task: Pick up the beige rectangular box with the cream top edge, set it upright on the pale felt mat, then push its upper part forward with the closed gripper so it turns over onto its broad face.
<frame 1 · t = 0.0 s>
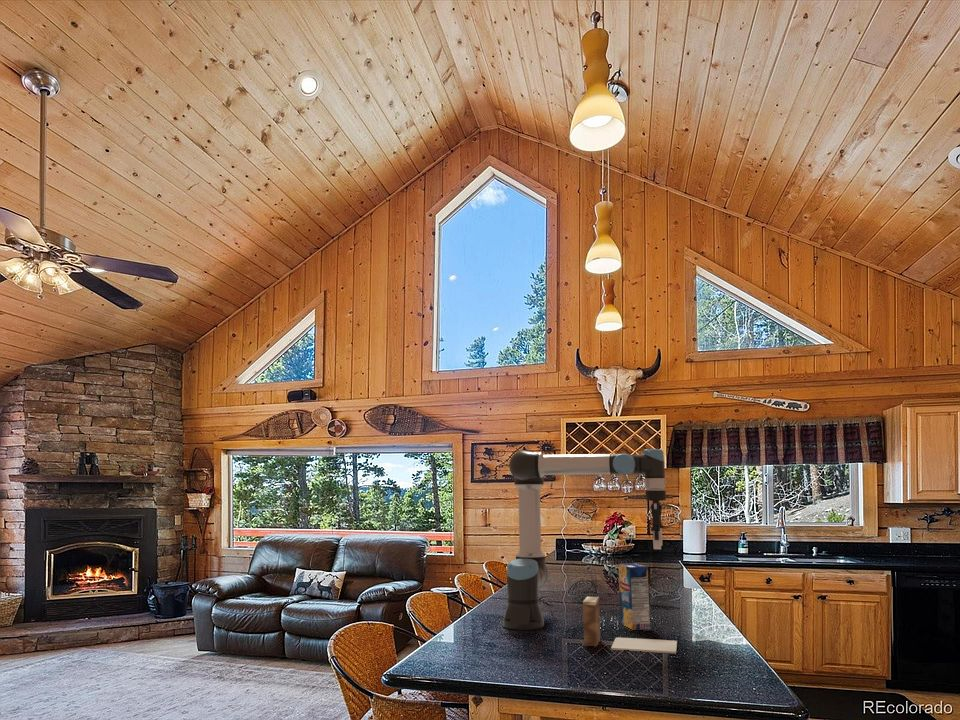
hand: (658, 547, 262), 28 cm above the counter, tool pointing down, fingers open, 13 cm apart
felt mat: (644, 646, 227), on the counter
beige rectangular box: (592, 643, 232), on the counter
beverage box: (635, 628, 255), on the counter
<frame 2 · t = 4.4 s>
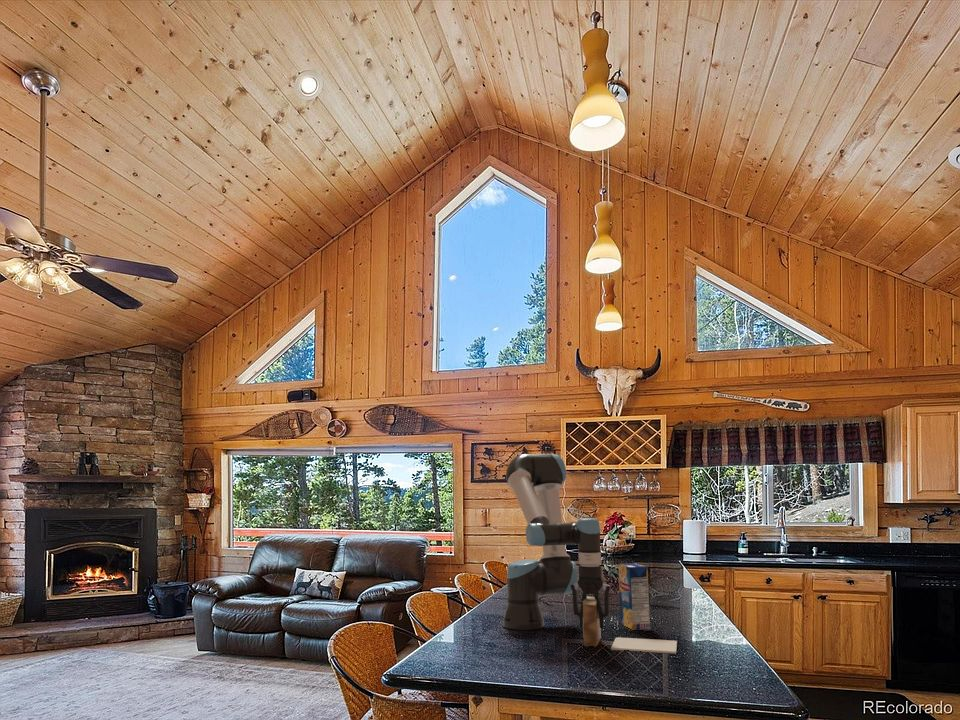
hand: (592, 637, 232), 2 cm above the counter, tool pointing down, fingers closed on beige rectangular box, 4 cm apart
beige rectangular box: (592, 643, 232), on the counter, touching gripper
everything else where it was.
when the fingers open (3 cm above the counter, at t = 9.1 s): beige rectangular box stays where it is, resting on felt mat.
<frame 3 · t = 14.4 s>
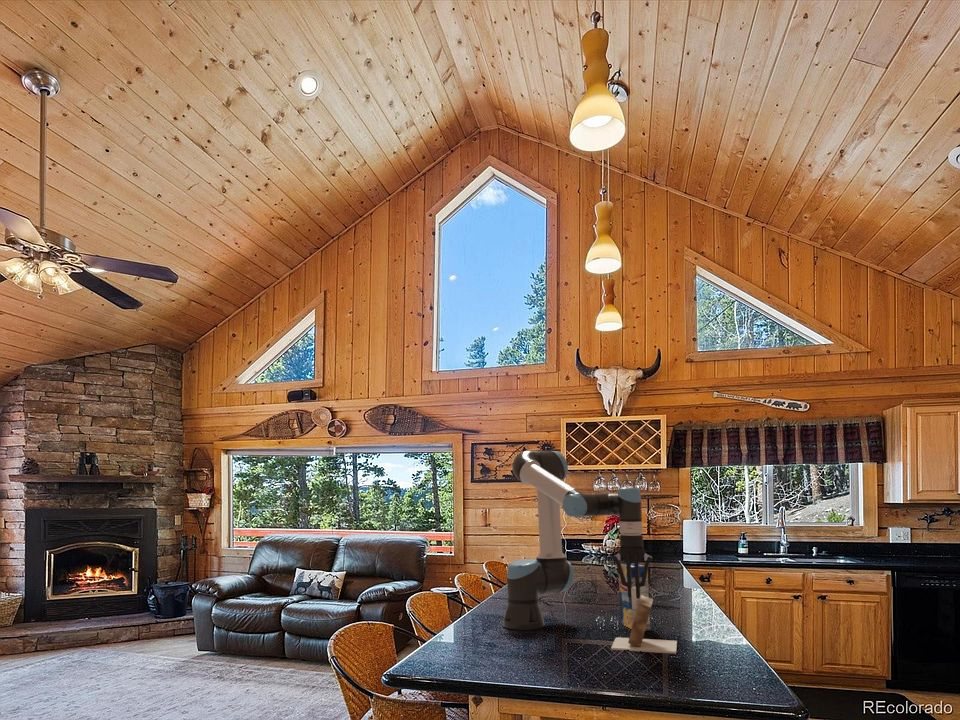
hand: (634, 608, 230), 12 cm above the counter, tool pointing down, fingers closed
beige rectangular box: (635, 641, 228), point 1 cm above the counter, tilted 17°, touching felt mat
everything else where it was.
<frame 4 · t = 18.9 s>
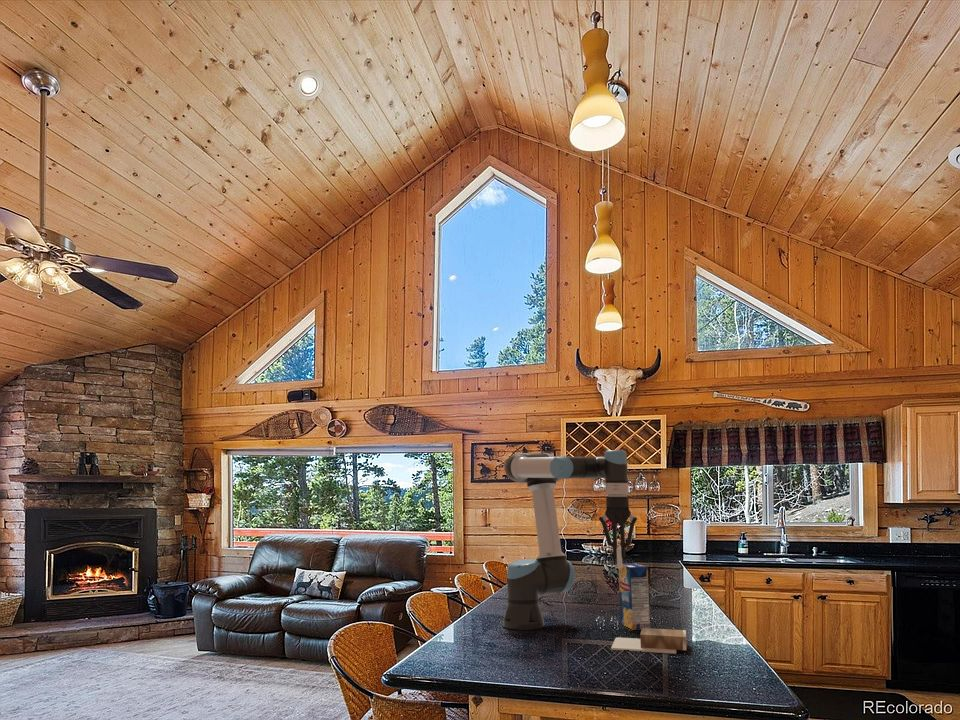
hand: (619, 567, 233), 24 cm above the counter, tool pointing down, fingers closed
beige rectangular box: (641, 637, 228), point 3 cm above the counter, tilted 90°, touching felt mat
everything else where it was.
at the end: beige rectangular box tilted 90°; beige rectangular box inside the target area on the felt mat (5.4 cm from its centre), point 2.6 cm above the felt mat's base; the gripper is holding nothing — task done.
